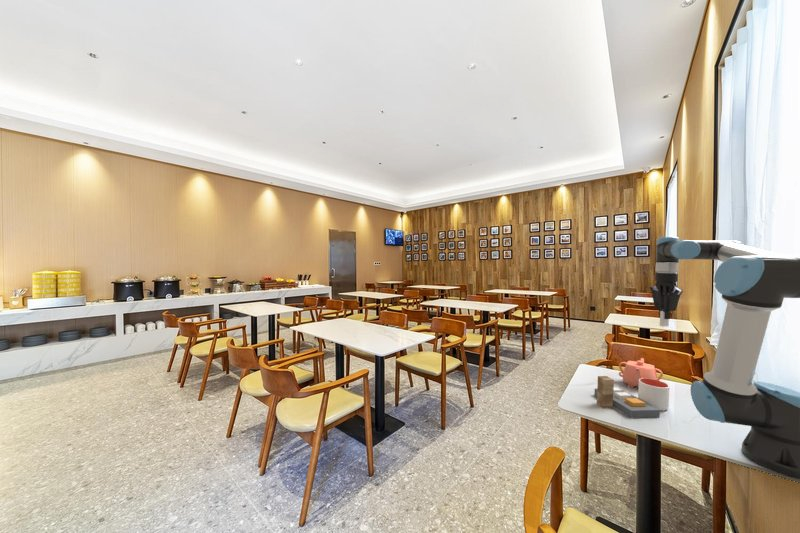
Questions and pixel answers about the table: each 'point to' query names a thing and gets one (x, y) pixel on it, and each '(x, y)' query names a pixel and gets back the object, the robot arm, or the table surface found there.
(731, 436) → the table surface
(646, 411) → the panel
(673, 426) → the table surface
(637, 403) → the orange rectangular block
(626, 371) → the teapot
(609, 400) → the oak post
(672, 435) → the table surface
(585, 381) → the table surface
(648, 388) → the cup
